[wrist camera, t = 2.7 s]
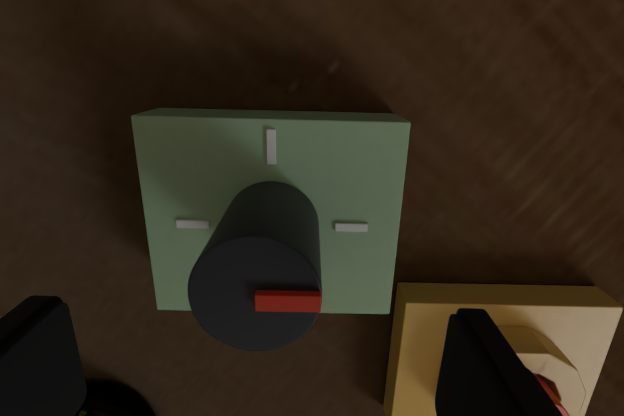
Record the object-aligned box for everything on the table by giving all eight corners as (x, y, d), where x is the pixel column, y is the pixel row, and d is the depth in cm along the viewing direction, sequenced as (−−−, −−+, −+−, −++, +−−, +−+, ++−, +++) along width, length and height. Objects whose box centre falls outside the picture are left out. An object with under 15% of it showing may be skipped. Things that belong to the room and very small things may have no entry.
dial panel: (177, 277, 21) (155, 312, 18) (158, 107, 18) (128, 115, 15) (379, 281, 21) (390, 316, 18) (395, 113, 18) (412, 122, 15)
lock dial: (228, 265, 17) (190, 357, 12) (223, 179, 16) (177, 239, 10) (317, 267, 17) (320, 360, 12) (320, 181, 16) (325, 241, 10)
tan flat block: (382, 406, 24) (396, 469, 20) (397, 281, 21) (416, 328, 17) (556, 409, 24) (601, 471, 20) (596, 285, 21) (658, 333, 17)
